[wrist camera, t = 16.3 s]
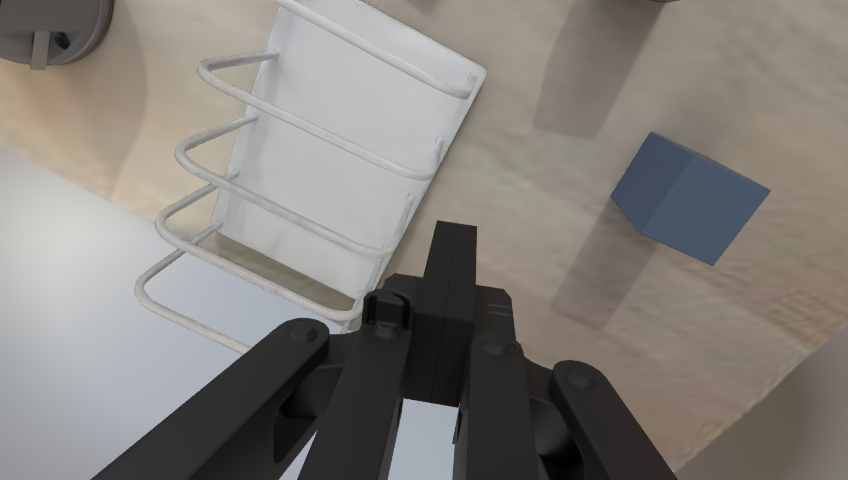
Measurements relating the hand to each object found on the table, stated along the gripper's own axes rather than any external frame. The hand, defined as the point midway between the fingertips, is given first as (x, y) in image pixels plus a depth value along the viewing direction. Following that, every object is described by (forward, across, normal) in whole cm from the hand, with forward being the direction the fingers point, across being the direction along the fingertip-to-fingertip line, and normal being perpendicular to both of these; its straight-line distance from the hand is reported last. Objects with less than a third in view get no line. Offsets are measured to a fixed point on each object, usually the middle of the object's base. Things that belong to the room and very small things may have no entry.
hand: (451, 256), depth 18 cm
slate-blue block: (+26, +17, -2) cm, 32 cm away
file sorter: (+27, -12, -4) cm, 29 cm away
